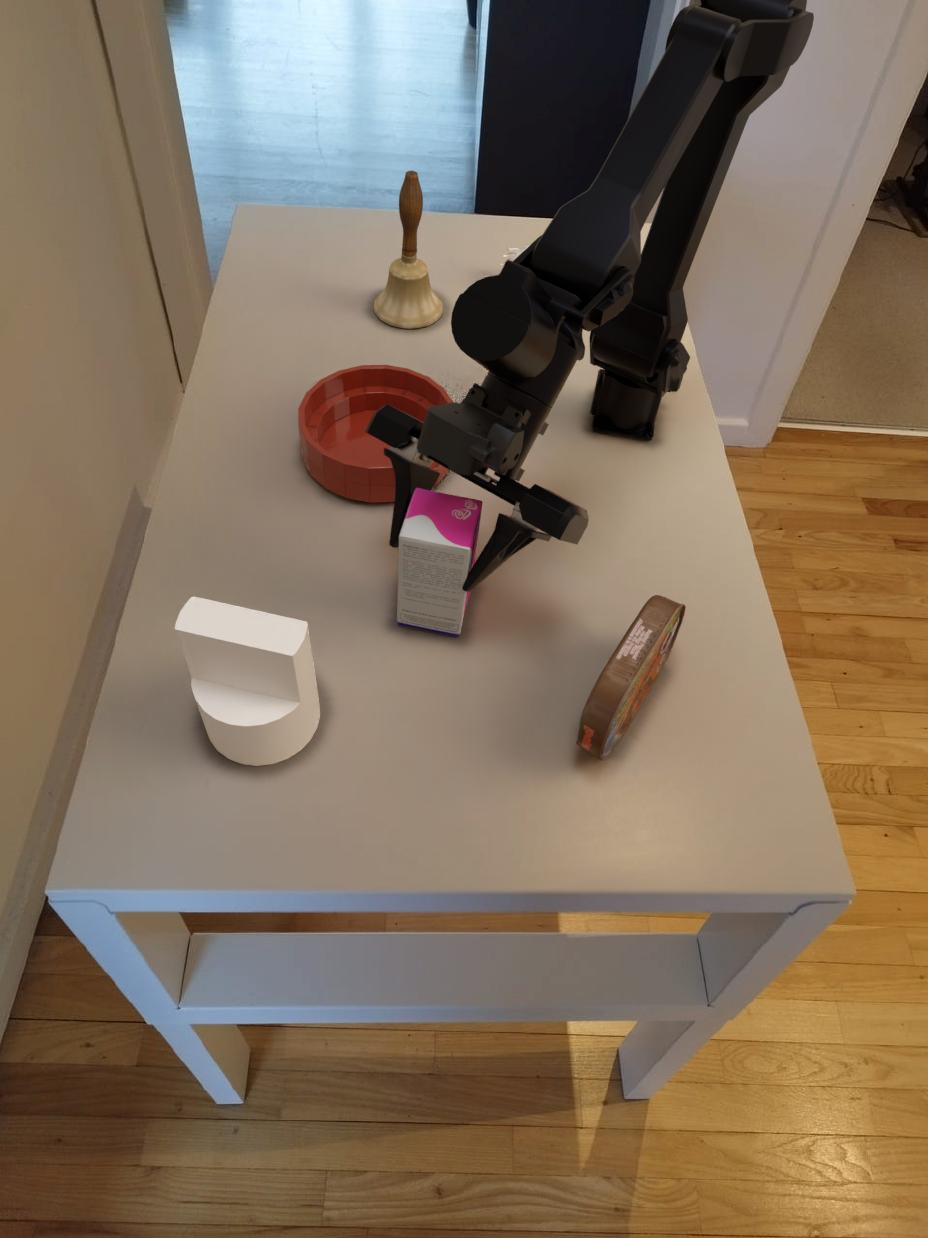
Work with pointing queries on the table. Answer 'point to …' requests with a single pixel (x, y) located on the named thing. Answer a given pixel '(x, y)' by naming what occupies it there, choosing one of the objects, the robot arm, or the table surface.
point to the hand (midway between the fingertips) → (428, 568)
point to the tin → (629, 676)
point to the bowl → (360, 427)
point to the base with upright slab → (250, 679)
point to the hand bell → (409, 270)
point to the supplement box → (436, 561)
